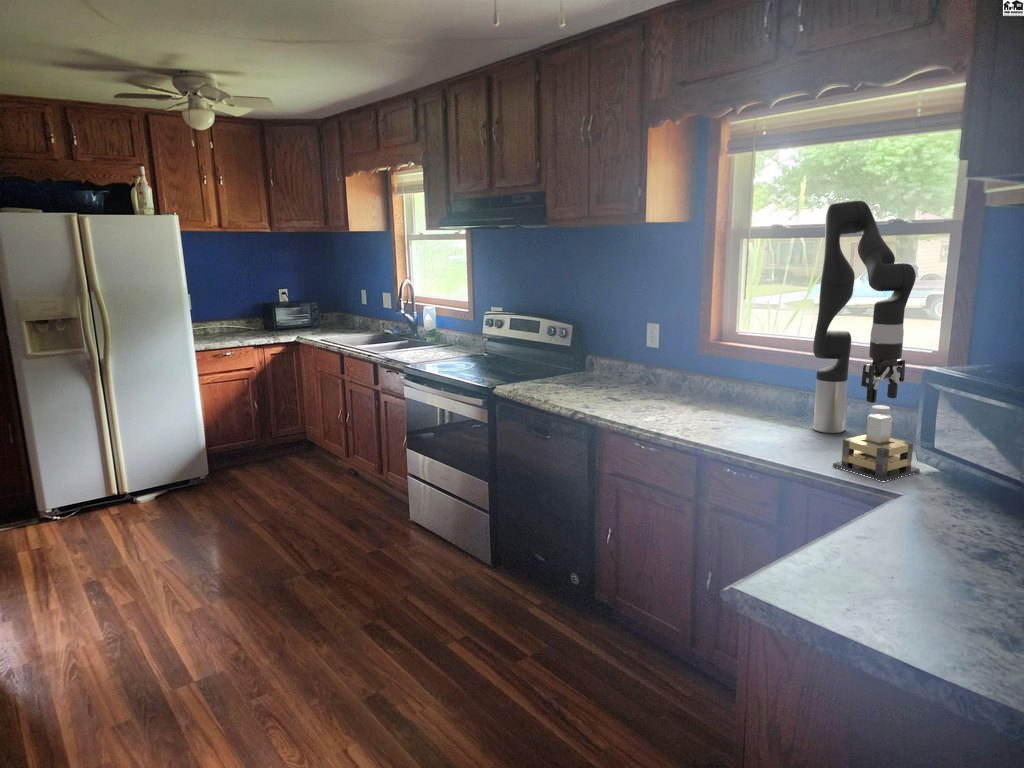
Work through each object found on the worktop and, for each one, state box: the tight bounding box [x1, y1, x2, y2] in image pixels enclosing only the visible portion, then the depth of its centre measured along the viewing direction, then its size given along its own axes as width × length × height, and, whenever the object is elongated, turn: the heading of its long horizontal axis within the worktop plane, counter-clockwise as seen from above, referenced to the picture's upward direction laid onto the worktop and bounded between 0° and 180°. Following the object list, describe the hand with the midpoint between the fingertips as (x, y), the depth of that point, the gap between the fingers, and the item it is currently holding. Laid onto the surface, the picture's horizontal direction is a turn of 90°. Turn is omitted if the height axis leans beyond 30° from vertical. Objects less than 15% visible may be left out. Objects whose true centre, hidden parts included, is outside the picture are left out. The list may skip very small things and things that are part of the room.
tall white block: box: [865, 414, 893, 459], centre depth 180 cm, size 4×4×14 cm
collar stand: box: [832, 433, 921, 482], centre depth 180 cm, size 15×15×8 cm
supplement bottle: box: [865, 404, 894, 438], centre depth 198 cm, size 7×7×13 cm
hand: (881, 400), depth 177 cm, fingers open, 8 cm apart
